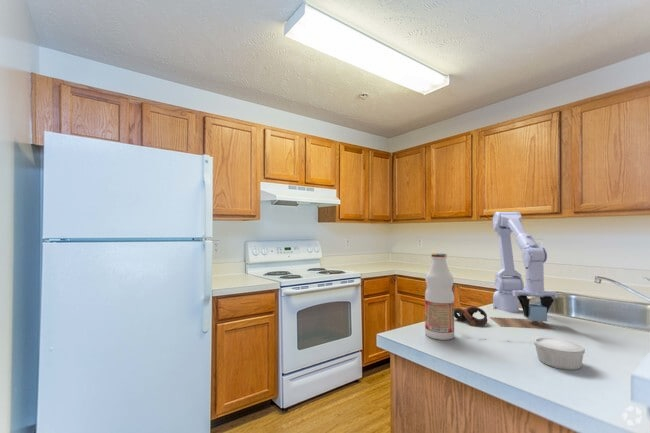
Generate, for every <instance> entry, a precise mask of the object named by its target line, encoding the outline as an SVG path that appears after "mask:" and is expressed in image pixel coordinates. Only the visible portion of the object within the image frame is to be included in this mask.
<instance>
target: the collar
mask: <svg viewBox="0 0 650 433" xmlns="http://www.w3.org/2000/svg"><path fill="white" fill-rule="evenodd" d="M523 318H524V319H529V320H530V321H542V322H545V323H546V322H548V313H547V307H545V306H542V305H541V303H529V316H528V317H526V316H524V315H523Z"/></svg>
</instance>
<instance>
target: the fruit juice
mask: <svg viewBox="0 0 650 433" xmlns="http://www.w3.org/2000/svg"><path fill="white" fill-rule="evenodd" d="M447 256H448V255H447V253H443V252H433V253H431V258H432V260H431V264H430V267H429V269H428V272H427V273H426V274H425V279H424V280H425V284H426V289H425V292H424V327H425V328H424V331H425V335H426V336H427V337H428V338H431V339H435V340H441V341H447V340H452V339H454V337H455V317H454V309H455V294H454V292H453V286H454V277H453V274H452V273H451V271H450V269H449V267H448V263H447Z"/></svg>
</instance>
